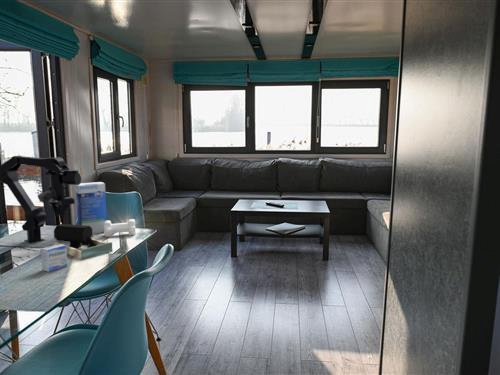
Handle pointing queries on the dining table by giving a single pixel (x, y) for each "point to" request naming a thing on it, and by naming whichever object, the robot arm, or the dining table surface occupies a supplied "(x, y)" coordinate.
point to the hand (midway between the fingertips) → (59, 217)
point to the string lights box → (91, 205)
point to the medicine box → (54, 257)
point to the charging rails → (89, 249)
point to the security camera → (74, 235)
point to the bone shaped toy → (119, 227)
